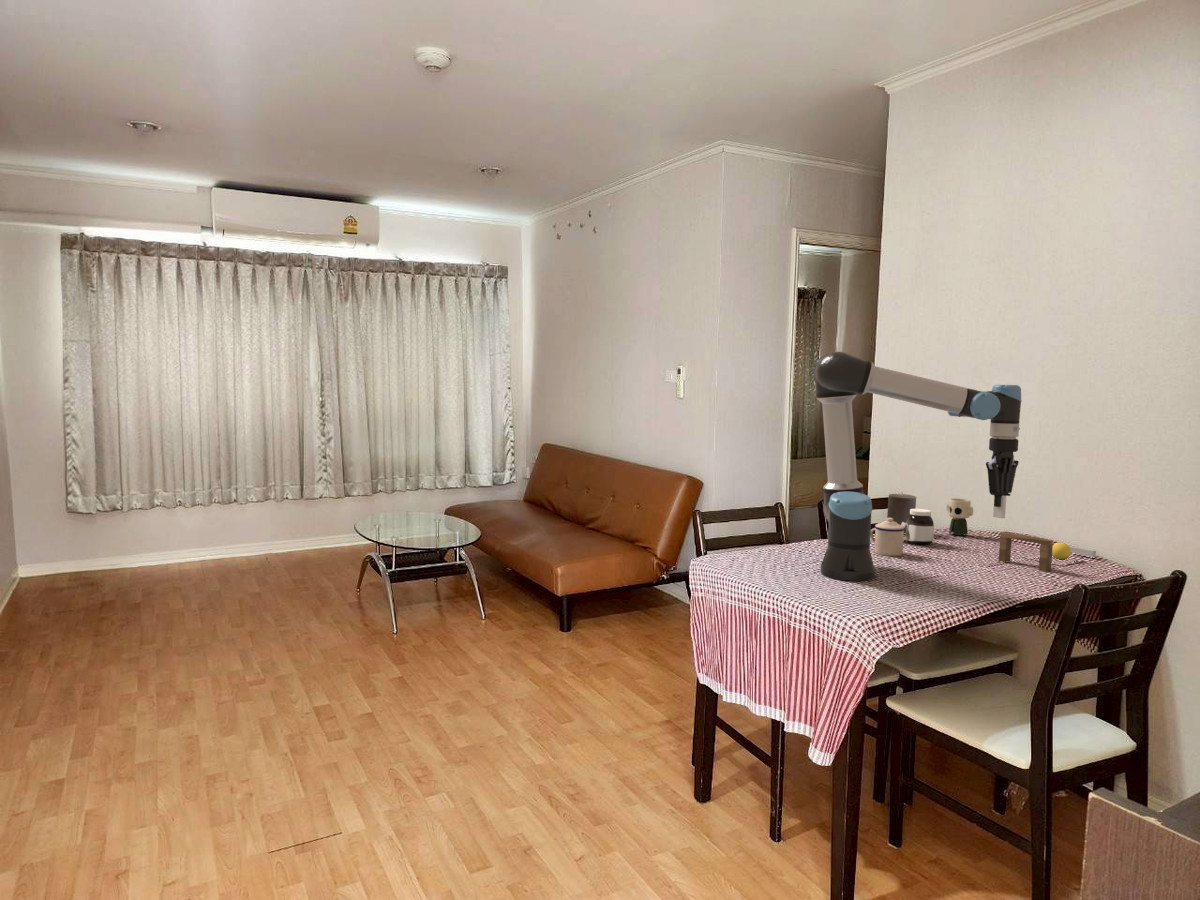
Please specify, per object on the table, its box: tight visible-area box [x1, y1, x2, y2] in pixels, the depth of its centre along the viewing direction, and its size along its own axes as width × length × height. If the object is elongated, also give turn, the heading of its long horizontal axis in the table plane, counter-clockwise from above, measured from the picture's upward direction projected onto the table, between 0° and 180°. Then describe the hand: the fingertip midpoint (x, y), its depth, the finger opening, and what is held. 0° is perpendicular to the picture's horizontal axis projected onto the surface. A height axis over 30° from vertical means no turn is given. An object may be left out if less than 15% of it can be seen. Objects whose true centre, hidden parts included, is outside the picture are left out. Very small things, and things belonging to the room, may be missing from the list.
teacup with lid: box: [870, 518, 905, 557], centre depth 250 cm, size 12×9×12 cm
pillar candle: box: [886, 492, 917, 533], centre depth 283 cm, size 10×10×15 cm
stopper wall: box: [1067, 544, 1097, 558], centre depth 250 cm, size 2×12×2 cm, turn 31°
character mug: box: [946, 498, 974, 536], centre depth 279 cm, size 11×7×13 cm, turn 27°
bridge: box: [998, 531, 1054, 572], centre depth 234 cm, size 3×14×9 cm, turn 31°
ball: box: [1052, 542, 1072, 560], centre depth 243 cm, size 6×6×6 cm
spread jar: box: [901, 508, 935, 546], centre depth 266 cm, size 12×11×12 cm
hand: (999, 517), depth 225 cm, fingers closed
